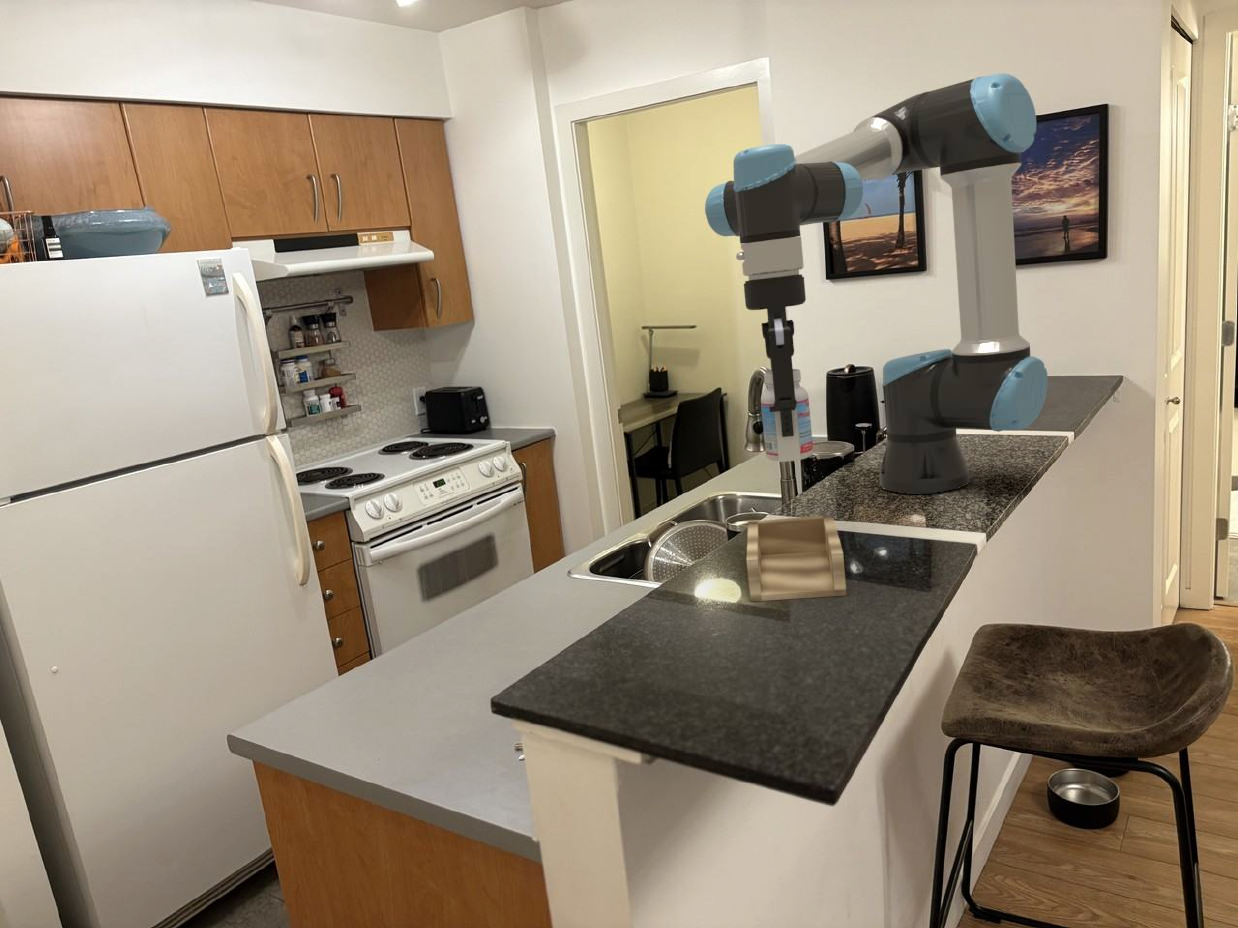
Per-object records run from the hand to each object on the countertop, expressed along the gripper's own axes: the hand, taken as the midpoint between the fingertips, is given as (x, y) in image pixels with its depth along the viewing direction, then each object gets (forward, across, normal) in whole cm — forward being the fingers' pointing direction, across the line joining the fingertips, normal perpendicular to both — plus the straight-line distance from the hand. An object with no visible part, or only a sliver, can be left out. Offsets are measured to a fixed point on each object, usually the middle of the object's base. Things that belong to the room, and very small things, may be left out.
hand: (788, 454), depth 120 cm
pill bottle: (0, 0, 0) cm, 1 cm away
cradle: (+17, -2, 0) cm, 17 cm away
